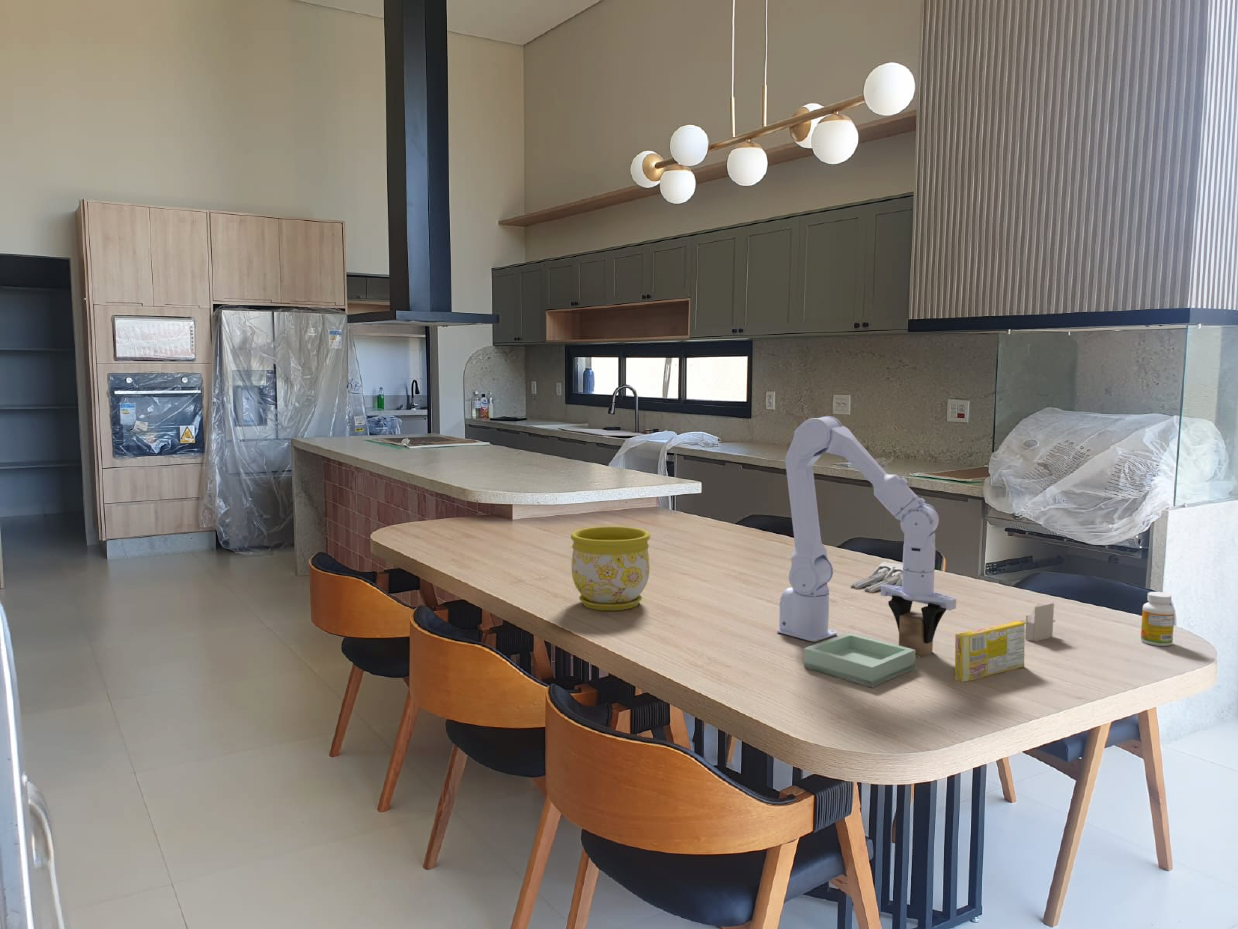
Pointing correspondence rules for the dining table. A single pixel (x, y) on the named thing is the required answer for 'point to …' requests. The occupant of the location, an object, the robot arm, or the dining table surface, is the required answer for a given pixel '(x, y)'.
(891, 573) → the turret
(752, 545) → the dining table surface
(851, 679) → the bin
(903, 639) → the walnut block
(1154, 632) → the supplement bottle
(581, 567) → the flowerpot
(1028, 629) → the architectural model
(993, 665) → the candy box
